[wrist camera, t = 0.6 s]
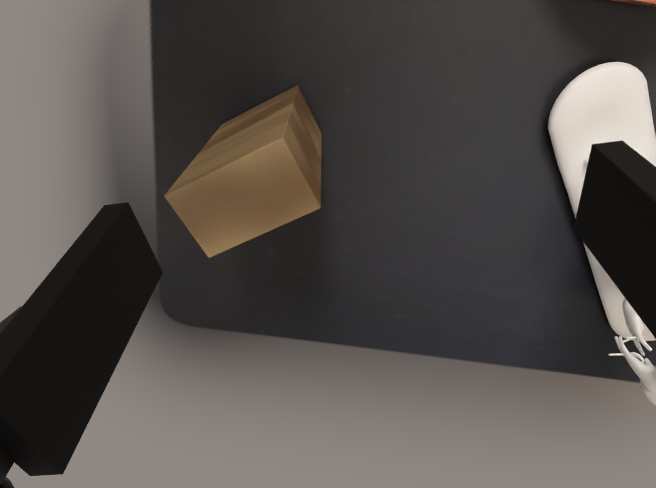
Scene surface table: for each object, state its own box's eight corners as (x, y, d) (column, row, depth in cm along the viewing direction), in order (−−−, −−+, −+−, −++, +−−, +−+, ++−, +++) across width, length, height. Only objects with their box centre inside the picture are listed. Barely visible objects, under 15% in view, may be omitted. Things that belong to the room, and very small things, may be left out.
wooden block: (222, 122, 31) (163, 196, 19) (298, 83, 29) (282, 137, 18) (248, 167, 32) (208, 258, 21) (322, 131, 31) (321, 208, 20)
